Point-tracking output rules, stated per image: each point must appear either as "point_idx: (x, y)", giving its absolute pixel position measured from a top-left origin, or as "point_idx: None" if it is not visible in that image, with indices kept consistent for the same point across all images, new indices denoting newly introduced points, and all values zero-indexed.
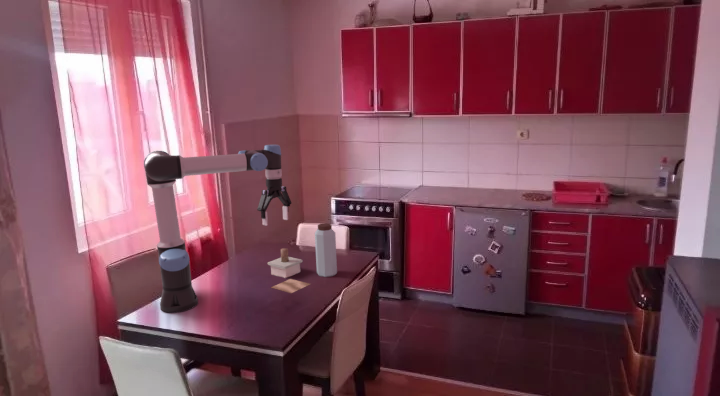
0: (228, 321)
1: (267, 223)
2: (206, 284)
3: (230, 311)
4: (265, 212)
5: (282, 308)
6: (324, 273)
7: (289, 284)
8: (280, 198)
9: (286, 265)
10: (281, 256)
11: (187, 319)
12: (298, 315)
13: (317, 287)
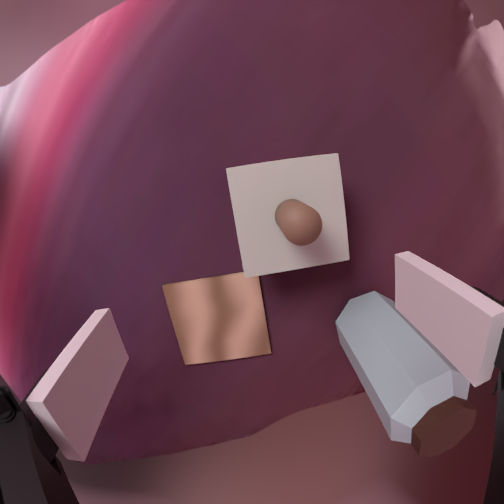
0: (23, 360)
1: (122, 368)
2: (49, 97)
3: (32, 326)
4: (65, 447)
5: (127, 401)
6: (341, 345)
7: (221, 310)
8: (497, 501)
9: (258, 268)
10: (278, 218)
11: None
12: (140, 439)
13: (270, 375)
